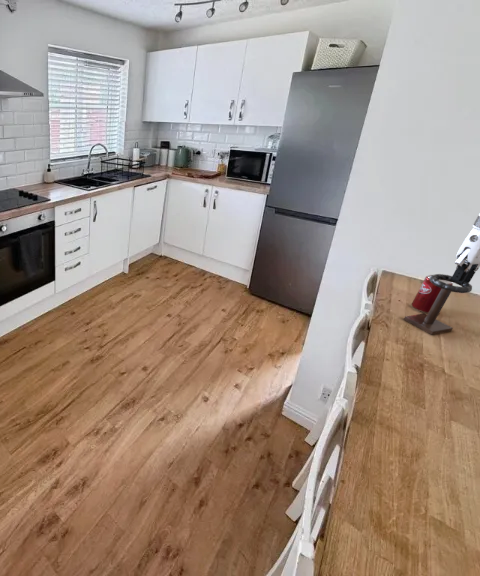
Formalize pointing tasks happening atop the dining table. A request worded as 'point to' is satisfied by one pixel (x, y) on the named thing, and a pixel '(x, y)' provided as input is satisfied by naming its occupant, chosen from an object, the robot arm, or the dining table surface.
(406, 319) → the post
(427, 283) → the soda can
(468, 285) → the ring
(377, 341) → the dining table surface
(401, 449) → the dining table surface
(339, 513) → the dining table surface
